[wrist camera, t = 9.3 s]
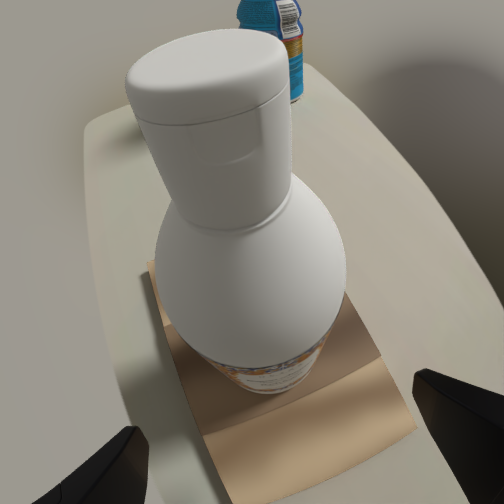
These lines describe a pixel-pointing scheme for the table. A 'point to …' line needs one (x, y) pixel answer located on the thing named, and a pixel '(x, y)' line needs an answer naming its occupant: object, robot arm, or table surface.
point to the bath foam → (237, 209)
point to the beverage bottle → (278, 32)
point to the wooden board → (294, 414)
